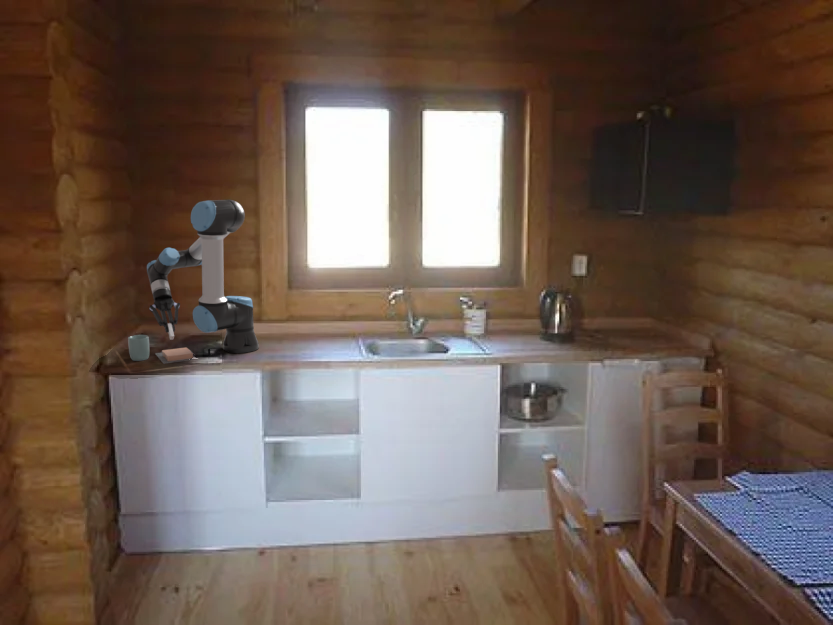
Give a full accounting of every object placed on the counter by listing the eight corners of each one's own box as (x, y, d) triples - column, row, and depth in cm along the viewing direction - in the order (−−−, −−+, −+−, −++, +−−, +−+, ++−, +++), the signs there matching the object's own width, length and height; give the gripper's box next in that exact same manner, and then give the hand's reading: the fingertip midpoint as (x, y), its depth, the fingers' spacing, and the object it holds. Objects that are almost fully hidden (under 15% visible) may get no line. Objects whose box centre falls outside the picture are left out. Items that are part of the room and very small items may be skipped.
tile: (162, 350, 309) (167, 356, 300) (186, 347, 314) (192, 353, 305) (162, 355, 310) (167, 361, 300) (186, 352, 315) (193, 358, 305)
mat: (155, 355, 313) (154, 353, 313) (188, 351, 320) (188, 349, 320) (163, 365, 298) (163, 363, 298) (199, 360, 305) (198, 359, 305)
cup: (143, 357, 310) (141, 333, 308) (153, 360, 306) (152, 336, 304) (126, 361, 305) (124, 337, 302) (136, 364, 300) (134, 340, 298)
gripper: (175, 296, 330) (186, 340, 320) (145, 298, 324) (155, 344, 313) (177, 286, 325) (189, 331, 314) (146, 288, 318) (156, 334, 308)
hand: (172, 337), depth 314 cm, fingers closed
